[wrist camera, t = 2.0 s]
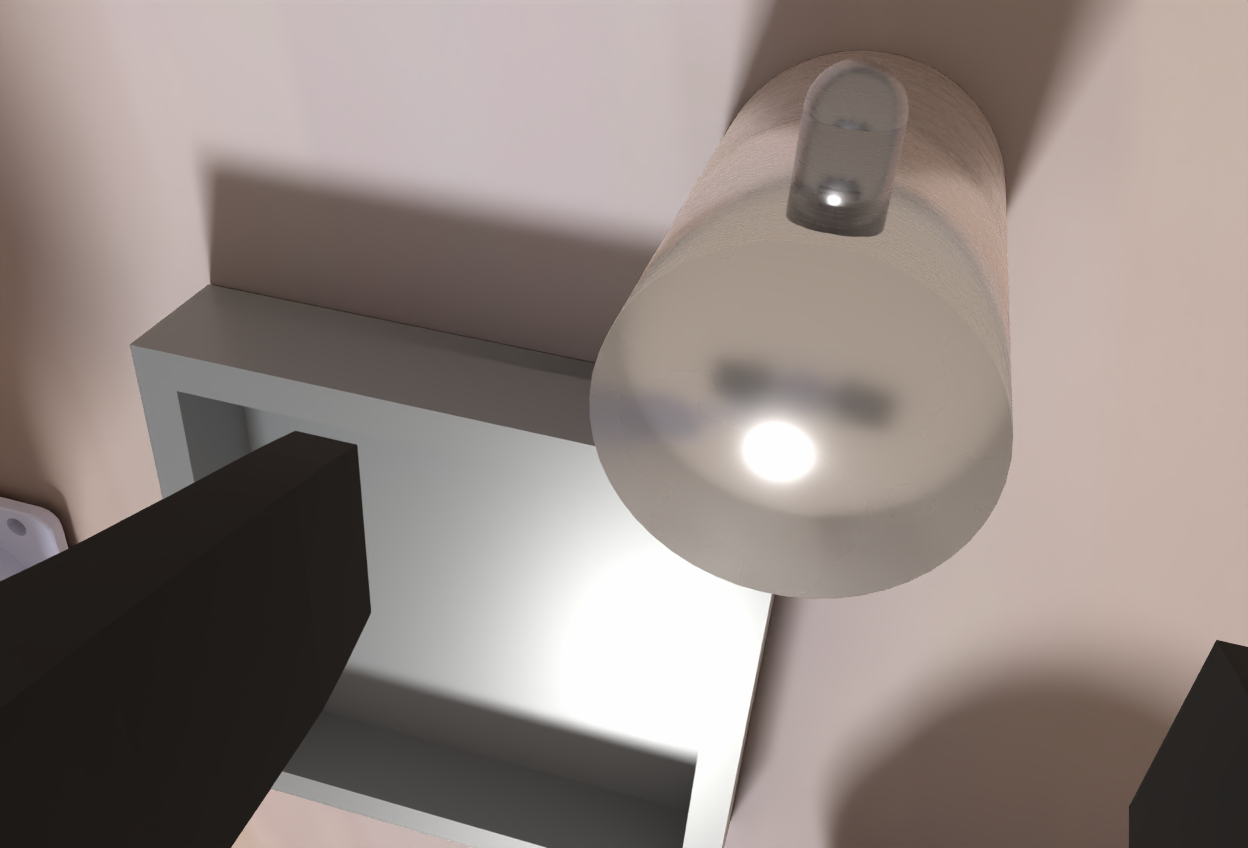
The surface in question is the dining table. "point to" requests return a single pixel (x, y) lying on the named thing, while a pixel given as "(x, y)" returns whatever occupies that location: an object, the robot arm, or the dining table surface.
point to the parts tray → (478, 583)
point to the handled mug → (822, 339)
